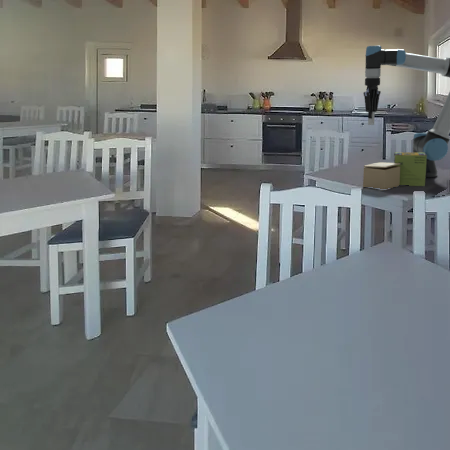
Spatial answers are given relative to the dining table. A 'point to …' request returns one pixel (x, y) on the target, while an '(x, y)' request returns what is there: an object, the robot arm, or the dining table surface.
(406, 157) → the protein box
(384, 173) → the carton
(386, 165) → the lid
